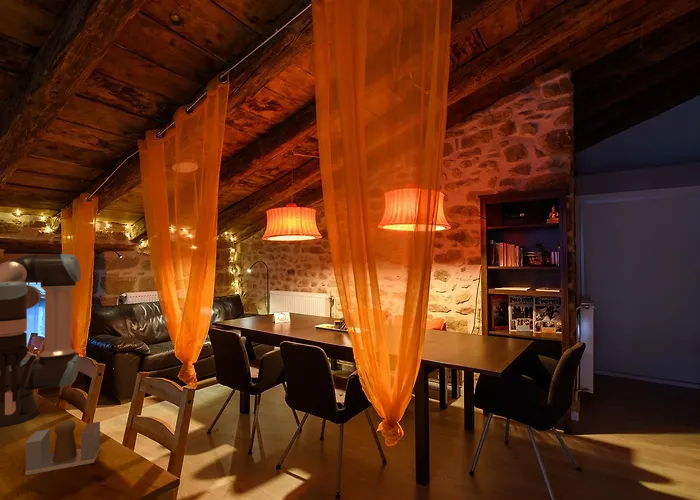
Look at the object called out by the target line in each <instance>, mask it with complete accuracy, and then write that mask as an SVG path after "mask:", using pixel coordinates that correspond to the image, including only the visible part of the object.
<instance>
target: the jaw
mask: <svg viewBox="0 0 700 500" xmlns="http://www.w3.org/2000/svg"><path fill="white" fill-rule="evenodd" d="M50 435H51V429H50V428H48V429H43V430H35V432H34V433H33V434H32V435H31V437H30V438H29V439H28V440H27V441H26V442H25V471H26V470H30V469H36V468H41V466H42V465H43V464H44V462H45V461H46V459H47V458H48V456H49V455H50V454H51V436H50Z"/></svg>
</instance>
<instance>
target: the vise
mask: <svg viewBox="0 0 700 500" xmlns="http://www.w3.org/2000/svg"><path fill="white" fill-rule="evenodd" d="M76 451H77V456H76V457H75V458H73V459H71V460H69V461H65V462H60V463H55V462H53V457H54V452H53V453H50V455H49V456H48V458H47V459H46V461H45V462H44V464H43V465H42V466H41V468H36V469H30V470H26V469H25V471H24V476H29V475H35V474H40V473H45V472H51V471H57V470H62V469H66V468H67V469H68V468H73V467H77V466H83V465H88V464H89V465H90V464H94V463H95V461H96V459H97V457H98V454H99V453H100V451H101V422H100V421H95V422H87V424H86V425H85V426H84V428H83V430H82V431H81V433H80V448H76Z"/></svg>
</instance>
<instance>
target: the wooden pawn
mask: <svg viewBox="0 0 700 500" xmlns="http://www.w3.org/2000/svg"><path fill="white" fill-rule="evenodd" d="M75 428H76V422H75V421H74V420H71V419H70V420H69V419H68V420H62V421H59V422H58V423H57V424H56V425H55V428H54V433H55V435H56V440H55V446H54V451H53V453H54V457H53V462H55V463H60V462H65V461H69V460H71V459H73V458H75V457H76V456H77V451H76V449H77V446H76V439H75V433H74V431H75V430H76V429H75Z"/></svg>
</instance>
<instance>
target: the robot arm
mask: <svg viewBox="0 0 700 500" xmlns="http://www.w3.org/2000/svg"><path fill="white" fill-rule="evenodd" d="M80 265H81V264H80V261H79V259H78V257H77V256H76V255H74V254H70V253H69V254H68V253H52V254H51V253H50V254H49V253H46V254H44V253H43V254H42V253H41V254H40V253H39V254H34V253H33V254H32V253H31V254H26V255H25V254H24V255H20V256H16V257H13V258H10V259H8V260H6V261H4V262H2V263H1V264H0V427H7V426H11V425H13V426H14V425H17V424H21V423H24V422H26V421H30V420H31V419H33V418H36V417H37V416H38V415H39V414H40V406H39V404H38V402H37V400H36V397H35V394H34V393H35V392H34V390H40V389H47V388H57V387H59V388H61V387H65V386H70V385H72V384H73V383H75V381H76V379H77V377H78V374H79V369H80V364H81V357H80V355H77V354H76V350H74V349H73V348H72V347H71V342H72V340H71V338H72V336H71V335H72V331H71V329H72V328H71V327H72V326H71V325H72V291H73V289H74V288H75V287H76V286H77V284H76V283H78V282H80V281H81V278H82V277H81V276H82V272H81V266H80ZM29 283H31V284H36V283H37V284H40V288H41V290H43V291H44V293H45V295H44V296H45V297H44V345H43V346H44V350H43V351H42V352H41V353H40V354H38V353H32V352H31V351H30V350H29V348H28V333H27V332H26V331H27V330H28V310H29V309H31V308H33V307H35V306H36V305H37V304H39V302H40V301H41V299H42V293H41V291H40V289H39V288H37V287H36V286H34V285H30V284H29ZM38 357H39V358H38Z"/></svg>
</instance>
